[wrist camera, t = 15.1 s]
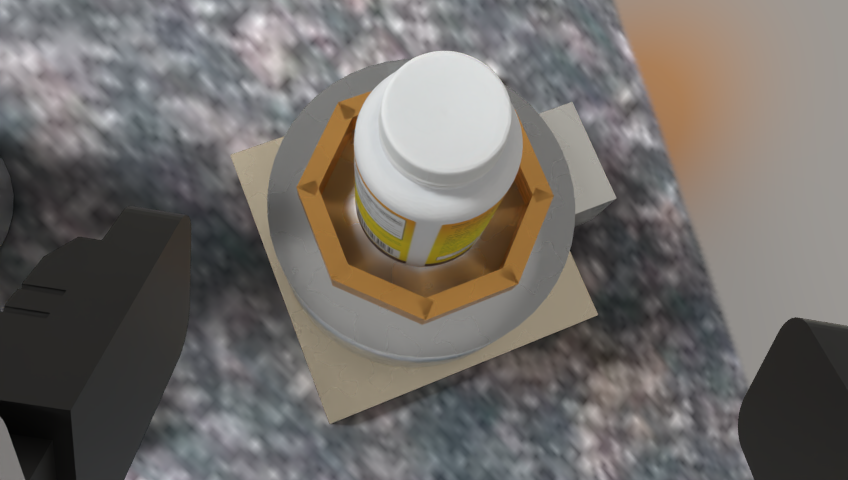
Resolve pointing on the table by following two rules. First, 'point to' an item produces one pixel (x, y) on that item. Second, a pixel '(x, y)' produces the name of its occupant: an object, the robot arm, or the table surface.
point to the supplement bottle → (434, 157)
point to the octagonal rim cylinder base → (407, 285)
